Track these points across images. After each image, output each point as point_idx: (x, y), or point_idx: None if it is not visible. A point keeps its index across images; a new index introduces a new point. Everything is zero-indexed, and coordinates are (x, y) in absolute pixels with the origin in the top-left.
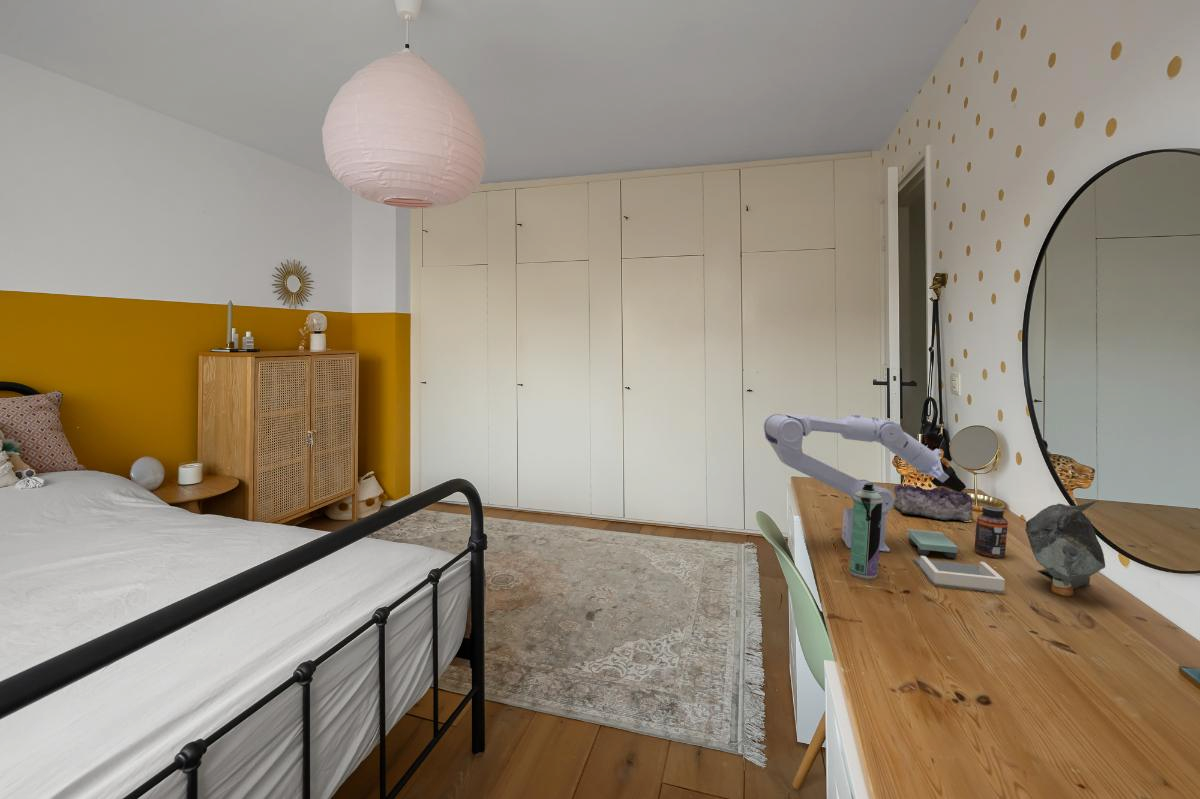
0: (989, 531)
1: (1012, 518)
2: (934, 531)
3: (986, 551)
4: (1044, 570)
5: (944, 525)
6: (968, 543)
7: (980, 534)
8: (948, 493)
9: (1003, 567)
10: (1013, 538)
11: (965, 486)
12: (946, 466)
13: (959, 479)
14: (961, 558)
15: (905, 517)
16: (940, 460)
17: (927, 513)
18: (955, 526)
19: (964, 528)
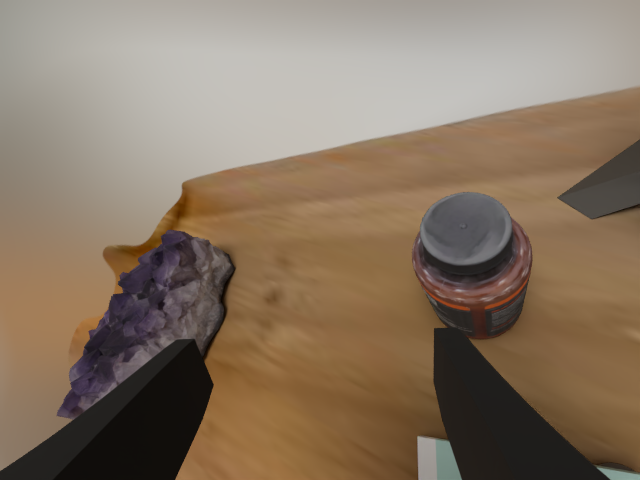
0: (525, 288)
1: (214, 181)
2: (419, 467)
3: (517, 317)
4: (611, 201)
5: (249, 329)
6: (386, 324)
7: (499, 318)
8: (146, 276)
9: (619, 305)
10: (322, 206)
11: (465, 336)
12: (153, 378)
13: (551, 428)
14: (586, 428)
15: None
16: (62, 469)
17: None
18: (255, 303)
19: (268, 286)
